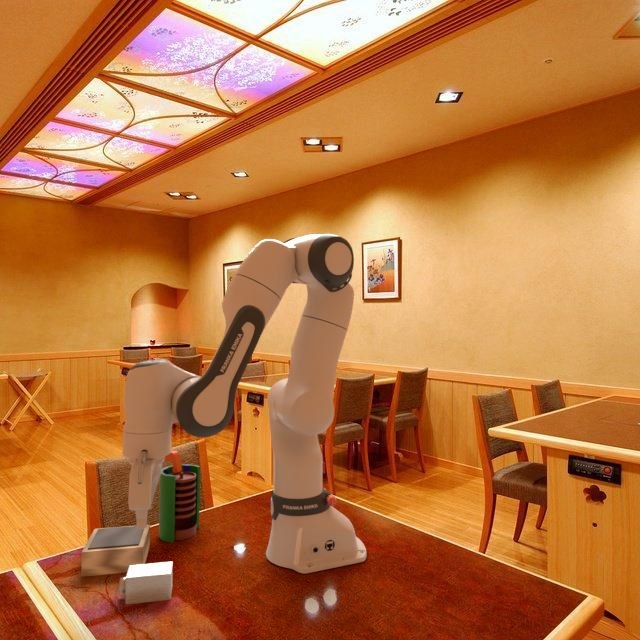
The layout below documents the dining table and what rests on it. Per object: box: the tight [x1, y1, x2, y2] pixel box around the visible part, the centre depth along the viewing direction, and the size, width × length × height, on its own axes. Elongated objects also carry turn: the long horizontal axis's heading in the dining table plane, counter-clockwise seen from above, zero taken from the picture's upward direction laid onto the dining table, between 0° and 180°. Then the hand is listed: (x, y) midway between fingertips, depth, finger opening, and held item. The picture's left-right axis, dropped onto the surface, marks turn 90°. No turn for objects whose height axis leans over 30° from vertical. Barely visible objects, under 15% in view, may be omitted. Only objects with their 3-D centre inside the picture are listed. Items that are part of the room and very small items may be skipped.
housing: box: [118, 561, 174, 605], centre depth 97 cm, size 9×5×5 cm, turn 102°
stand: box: [80, 524, 151, 578], centre depth 111 cm, size 12×12×5 cm
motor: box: [158, 450, 201, 543], centre depth 125 cm, size 10×9×20 cm
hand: (145, 517), depth 97 cm, fingers open, 8 cm apart
